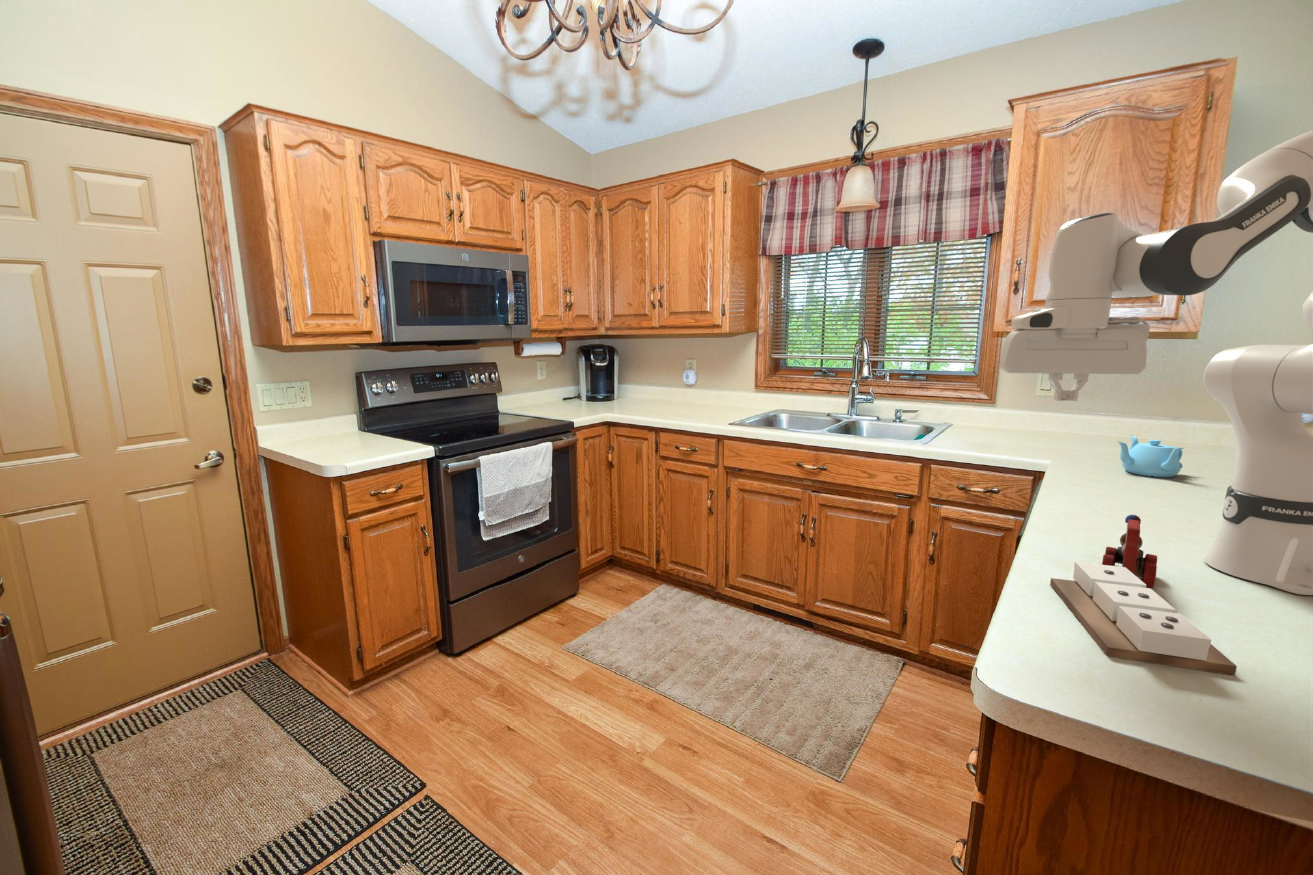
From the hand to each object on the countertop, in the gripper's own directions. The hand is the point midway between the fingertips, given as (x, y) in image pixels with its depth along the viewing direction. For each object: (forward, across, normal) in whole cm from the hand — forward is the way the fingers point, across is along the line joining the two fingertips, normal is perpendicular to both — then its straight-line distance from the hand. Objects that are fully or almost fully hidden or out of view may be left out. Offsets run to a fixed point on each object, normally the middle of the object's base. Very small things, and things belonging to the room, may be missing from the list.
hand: (1065, 400), depth 97 cm
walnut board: (+29, -4, +21) cm, 36 cm away
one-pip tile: (+28, -4, +13) cm, 31 cm away
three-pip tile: (+28, -4, +29) cm, 41 cm away
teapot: (+31, -52, -88) cm, 107 cm away
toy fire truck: (+30, -11, +3) cm, 32 cm away
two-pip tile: (+28, -4, +21) cm, 35 cm away
